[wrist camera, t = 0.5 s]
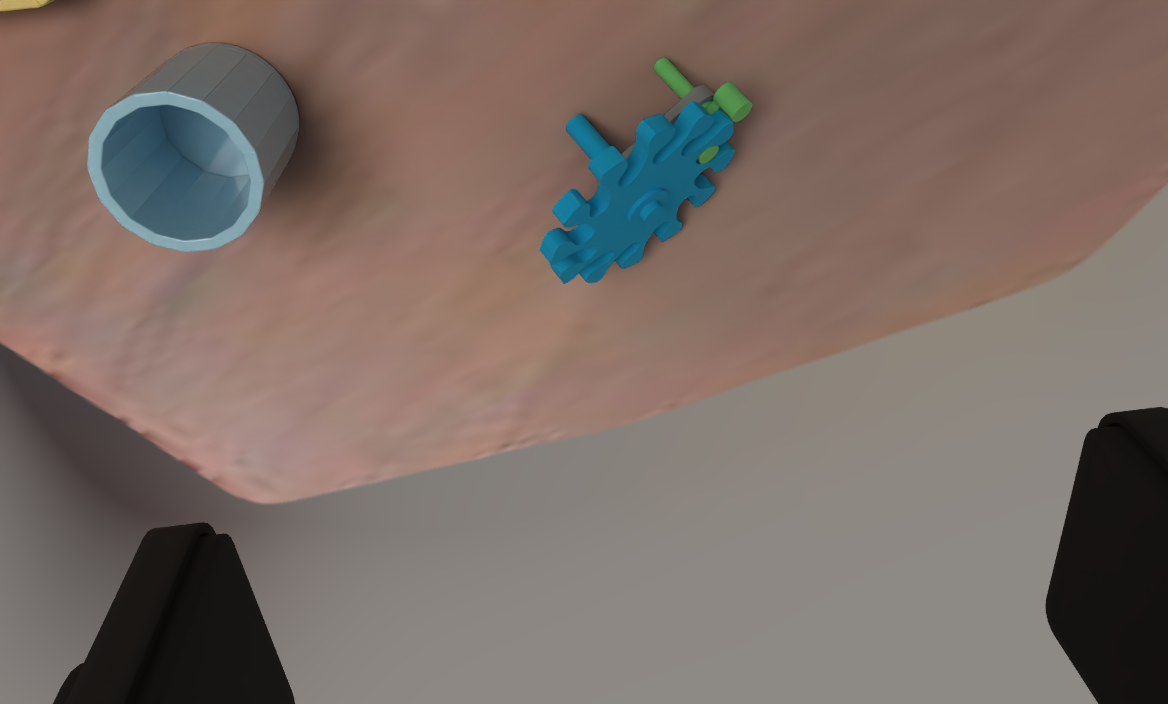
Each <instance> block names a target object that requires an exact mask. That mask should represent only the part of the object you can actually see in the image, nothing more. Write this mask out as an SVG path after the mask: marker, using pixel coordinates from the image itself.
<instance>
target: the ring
mask: <svg viewBox="0 0 1168 704" xmlns="http://www.w3.org/2000/svg"><path fill="white" fill-rule="evenodd" d="M53 1H55V0H0V12H2V11H12V10H21V9H31V8H40V7H42V6H45V5H47V4H49V3H51V2H53Z"/></svg>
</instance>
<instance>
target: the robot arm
mask: <svg viewBox="0 0 1168 704" xmlns="http://www.w3.org/2000/svg"><path fill="white" fill-rule="evenodd" d="M1046 614H1047V619H1048V623H1049V625H1050V628H1051V630H1052V632H1053V634H1054V636H1055V637H1056V639H1057V640H1058V642H1059V644H1060V645H1061V647H1062V648H1063V650H1064V651H1065V653H1066V654H1067V656H1068V657H1069V659H1070V660H1071V662H1072V663H1073V665H1074V667H1075V668H1076V670H1077V671H1078V673H1079V674H1080V676H1081V678H1082V679H1083V681H1084V682H1085V684H1086V685H1087V687H1088V688H1089V690H1090V691H1091V693H1092V694H1093V696H1094V698H1095V699H1096V701H1097V702H1098V704H1168V408H1163V407H1156V408H1147V409H1139V410H1132V411H1123V412H1114V413H1110V414H1107V415H1105V416H1104V417H1103V418H1102V419H1101V421H1100V423H1099V426H1098V428H1094V429H1091V430H1090V431H1089V432H1088V433H1087V435H1086V437H1085V440H1084V444H1083V448H1082V452H1081V456H1080V461H1079V465H1078V469H1077V473H1076V477H1075V481H1074V485H1073V490H1072V494H1071V498H1070V502H1069V506H1068V511H1067V515H1066V519H1065V523H1064V527H1063V531H1062V536H1061V540H1060V544H1059V548H1058V552H1057V556H1056V560H1055V564H1054V569H1053V573H1052V578H1051V581H1050V585H1049V590H1048V594H1047V598H1046ZM53 704H295V701H294V696H293V693H292V690H291V688H290V685H289V682H288V680H287V678H286V675H285V672H284V670H283V667H282V665H281V662H280V660H279V657H278V655H277V652H276V649H275V647H274V644H273V642H272V639H271V637H270V634H269V632H268V629H267V627H266V624H265V621H264V619H263V616H262V614H261V611H260V609H259V606H258V604H257V601H256V599H255V596H254V594H253V591H252V588H251V586H250V583H249V581H248V578H247V576H246V574H245V571H244V568H243V565H242V563H241V560H240V558H239V555H238V553H237V550H236V548H235V545H234V543H233V541H232V539H231V537H230V536H229V535H228V534H216V533H215V531H214V530H213V527H211V526H210V525H209V524H208V523H195V524H186V525H178V526H170V527H163V528H162V527H161V528H154V529H152V530H150V531H148V532H147V534H146V535H145V536H144V538H143V540H142V542H141V544H140V546H139V548H138V550H137V553H136V554H135V556H134V559H133V561H132V563H131V565H130V567H129V569H128V571H127V573H126V575H125V578H124V580H123V582H122V584H121V586H120V588H119V590H118V592H117V595H116V597H115V599H114V601H113V603H112V605H111V607H110V609H109V611H108V613H107V616H106V618H105V620H104V622H103V624H102V626H101V628H100V630H99V632H98V635H97V637H96V639H95V641H94V643H93V645H92V647H91V649H90V651H89V654H88V656H87V658H86V660H85V662H84V663H82V664H80V665H79V666H77V667H76V668H75V669H74V670H73V671H71V672H70V674H69V675H68V677H67V678H66V680H65V682H64V683H63V685H62V686H61V688H60V690H59V692H58V694H57V697H56V699H55V701H54V703H53Z"/></svg>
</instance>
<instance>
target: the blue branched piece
mask: <svg viewBox="0 0 1168 704" xmlns="http://www.w3.org/2000/svg"><path fill="white" fill-rule="evenodd" d="M654 71H655V72H656V73H657V74H658V75H659V76H660V77H661V78H662V79H663V80H664V81H665V82H666V83H667V84H668V86H669V87H670V88H671V89H672V90H673V91H674V92H675V93H676V94H677V95H678V96H679V97H680V98H681V100H680V101H679V102H678V103H677V104H676V105H675V106H674V107H673V108H671V109H670V110H669V111H668V112H667V113H666V114H665V115H663V114H658V115H654V116H651V117H648V118H646V119H644V120H642V122H641V123H640V124H639V126H638V128H637V131H636V135H637V137H636V141H635V142H634V143H633V144H632V145H631V146H630V147H629V148H628V149H627V150H625V151H624V152H623V153H622V154H621V153H620V152H619V151H618V150H617V149H616V148H615V146H611V147H610V145H609V144H608V143H607V142H606V141H605V140H604V138H603V137H602V136H601V135H600V134H599V133H598V132H597V130H596V129H595V128H594V127H593V126H592V125H591V124H590V122H589V121H588V120H587V119H586V118H585V117H584V116H583V115H581V114H580V115H577V116H575V117H573V118H572V119H571V120H570V121H569V122H568V124H567V126H566V131H567V132H568V133H569V134H570V136H571V137H572V138H573V139H574V140H575V141H576V143H577V144H578V145H579V146H580V147H581V148H582V150H583V151H584V152H585V153H586V154H587V155H588V157H589V158H590V159H591V161H590V162H589V169H590V170H591V171H592V173H593V174H594V175H595V176H596V177H597V179H598V180H599V185H598V190H597V192H596V194H595V195H594V196H593V197H592V198H591V199H590V200H588V201H586V200H585V199H584V198H583V197H582V195H581V194H580V193H579V192H578V191H577V190H575V189H572V190H569V191H568V192H567V193H566V194H565V195H564V196H563V197H562V198H561V199H560V200H559V201H558V202H557V204H556V205H555V206H554V208H553V209H552V212H553V213H554V214H555V215H556V217H557V218H558V219H559V220H560V222H561V223H562V224H563V225H564V226H565V227H572V226H575V225H578V226H577V227H576V228H575V229H573V230H571V231H568V232H566V231H564V230H563V229H561V228H556V229H553V230H551V231H549V232H548V233H547V234H546V235H545V237H544V239H543V241H542V244H541V247H540V251H541V252H542V254H543V255H544V256H545V257H546V259H547V260H548V261H549V262H550V266H551V268H552V269H553V271H554V272H555V273H556V274H557V276H558V277H559V278H560V279H561V281H562V282H563V283H564V284H565V283H567V282H569V281H571V280H572V279H573V278H574V277H575V276H576V275H577V274H578V273H579V274H580V275H581V276H582V278H583V279H584V280H585V281H586V282H588V283H595V282H598V281H599V280H600V279H601V278H602V277H603V276H604V275H605V273H606V272H607V270H608V268H609V267H610V265H611V264H612V263H613V261H614V260H615V261H616V262H617V264H618V265H619V266H620V267H621V268H622V269H624V268H627V267H630V266H632V265H634V264H636V263H638V262H639V261H640V260H641V258H642V257H643V255H644V247H645V244H646V242H647V240H648V239H649V237H650V236H651V235H652V233H653V232H654V233H655V235H656V236H657V237H658V238H659V239H660V240H661V242H664V241H666V240H667V239H669V238H670V237H672V236H673V235H674V234H676V233H677V232H678V231H679V230H681V228H682V223H681V222H680V220H679V219H678V218H677V217H676V215H677V211H678V208H679V206H680V204H681V203H682V202H683V201H684V200H685V199H686V198H687V199H688V200H689V201H690V202H691V203H692V204H693V205H694V206H695V207H699V206H700V205H702V204H703V203H704V202H705V201H706V200H707V199H708V198H709V197H710V196H711V195H712V193H713V192H714V191H715V190H716V187H715V186H714V185H713V184H712V183H711V182H710V181H709V180H708V178H707V177H706V176H705V175H703V174H701V175H699V174H700V173H701V172H702V171H704V170H705V169H707V168H712V170H713V171H714V172H719V171H721V170H723V169H725V168H726V166H727V165H728V164H729V162H730V161H731V159H732V157H733V155H734V153H735V151H736V150H735V149H734V148H733V147H732V146H731V145H730V144H729V143H728V142H727V140H728V139H730V138H731V137H732V134H733V131H734V124H733V121H734V122H738V121H740V120H742V119H743V118H744V117H745V116H746V115H747V114H748V113H749V112H750V110H751V108H752V103H751V102H750V101H749V100H748V99H747V98H746V97H745V95H744V94H743V93H742V92H741V91H740V90H739V89H738V88H737V87H736V86H735V85H734V84H733V83H732V82H727V83H725V84H723V85H722V86H721V87H720V88H719V89H718V90H717V91H716V93H714V92H713V91H712V90H711V89H710V88H709V87H708V86H707V85H700V86H697V87H696V88H694V87H693V86H692V85H691V84H690V83H689V81H688V80H687V79H686V78H685V77H684V76H683V75H682V74H681V73H680V72H679V71H678V70H677V69H676V68H675V67H674V66H673V65H672V63H671V62H670V61H669V60H668V59H667V58H665V57H663V58H661V59H660V60H658V61H657V62H656V64H655V65H654ZM722 110H723V111H724V112H725V113H726V114H727V115H728V116H729V117H730V118H731V119H732V120H733V121H732V120H731V119H730V118H729V117H728V116H727V115H726V114H725V113H724V112H723V111H722Z"/></svg>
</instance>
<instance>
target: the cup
mask: <svg viewBox="0 0 1168 704" xmlns="http://www.w3.org/2000/svg"><path fill="white" fill-rule="evenodd" d="M298 135H299V114H298V109H297V105H296V102H295V99H294V97H293V95H292V92H291V90H290V89H289V87H288V85H287V84H286V82H285V81H284V79H283V78H282V77H281V75H280V74H279V73H278V72H277V71H276V70H275V69H274V68H273V67H272V66H271V65H270V64H268V63H267V62H266V61H265V60H263V59H262V58H260V57H259V56H257V55H256V54H254V53H252V52H250V51H248V50H246V49H243V48H240V47H237V46H234V45H229V44H223V43H204V44H198V45H194V46H191V47H188V48H186V49H184V50H182V51H180V52H178V53H177V54H176V55H174V56H173V57H171V58H170V59H168V60H166V61H165V62H164V63H162V64H161V65H160V66H159V67H157V68H156V69H155V70H154V71H153V72H151V73H150V74H149V75H148V76H146V77H145V78H144V79H143V80H142V81H140V82H139V83H138V84H137V85H136V86H134V87H133V88H132V89H131V90H129V91H128V92H127V93H126V94H125V95H123V96H122V97H121V98H120V99H119V100H117V101H116V102H115V103H114V104H112V105H111V106H110V107H109V108H108V109H106V110H105V111H104V113H103V114H102V116H101V118H100V119H99V121H98V123H97V124H96V126H95V128H94V129H93V131H92V133H91V134H90V137H89V147H88V164H87V167H88V171H89V174H90V177H91V179H92V182H93V185H94V187H95V190H96V193H97V195H98V198H99V199H100V201H101V202H102V203H103V205H104V206H105V207H106V208H107V209H108V210H109V212H110V213H111V214H112V215H113V216H114V217H115V218H116V220H117V221H118V222H119V223H120V224H121V225H123V227H125V228H126V229H128V230H129V231H131V232H133V233H134V234H136V235H138V236H139V237H141V238H143V239H144V240H146V241H148V242H149V243H151V244H152V243H153V245H157V246H161V247H165V248H170V249H174V250H178V251H182V252H185V251H186V252H192V251H201V250H211V249H217V248H220V247H222V246H224V245H225V244H227V243H229V242H231V241H233V240H235V239H236V238H238V237H240V236H242V235H243V234H244V233H245V232H246V231H247V229H248V228H249V226H250V225H251V224H252V222H253V221H254V219H255V218H256V217H257V215H258V214H259V212H260V211H261V209H262V207H263V205H264V203H265V202H266V200H267V198H268V196H269V195H270V193H271V191H272V189H273V188H274V186H275V184H276V182H277V180H278V179H279V177H280V175H281V173H282V172H283V170H284V168H285V166H286V165H287V163H288V161H289V159H290V157H291V156H292V154H293V152H294V148H295V145H296V143H297V139H298Z"/></svg>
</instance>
